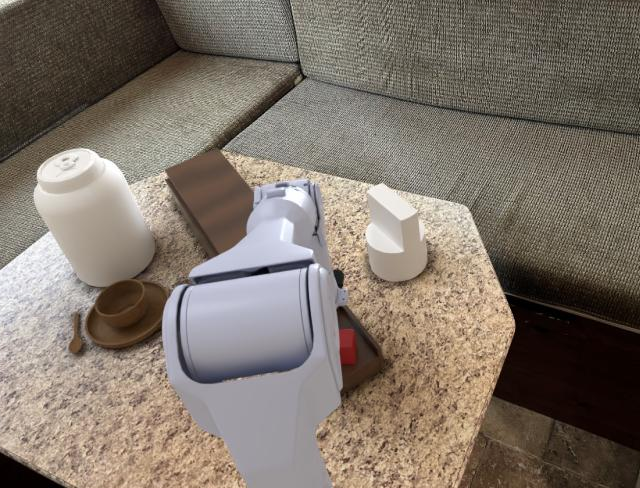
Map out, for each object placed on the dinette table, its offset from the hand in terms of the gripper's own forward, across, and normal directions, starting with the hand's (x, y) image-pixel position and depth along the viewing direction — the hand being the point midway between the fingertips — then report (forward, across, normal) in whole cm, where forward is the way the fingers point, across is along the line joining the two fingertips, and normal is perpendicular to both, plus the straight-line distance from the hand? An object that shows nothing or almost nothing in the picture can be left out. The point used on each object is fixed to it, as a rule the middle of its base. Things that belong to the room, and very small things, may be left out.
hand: (326, 345), depth 76 cm
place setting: (+6, +6, +29) cm, 30 cm away
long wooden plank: (+5, +19, +13) cm, 24 cm away
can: (+6, +22, +38) cm, 44 cm away
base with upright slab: (+6, +19, -8) cm, 22 cm away
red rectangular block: (+2, 0, 0) cm, 2 cm away
